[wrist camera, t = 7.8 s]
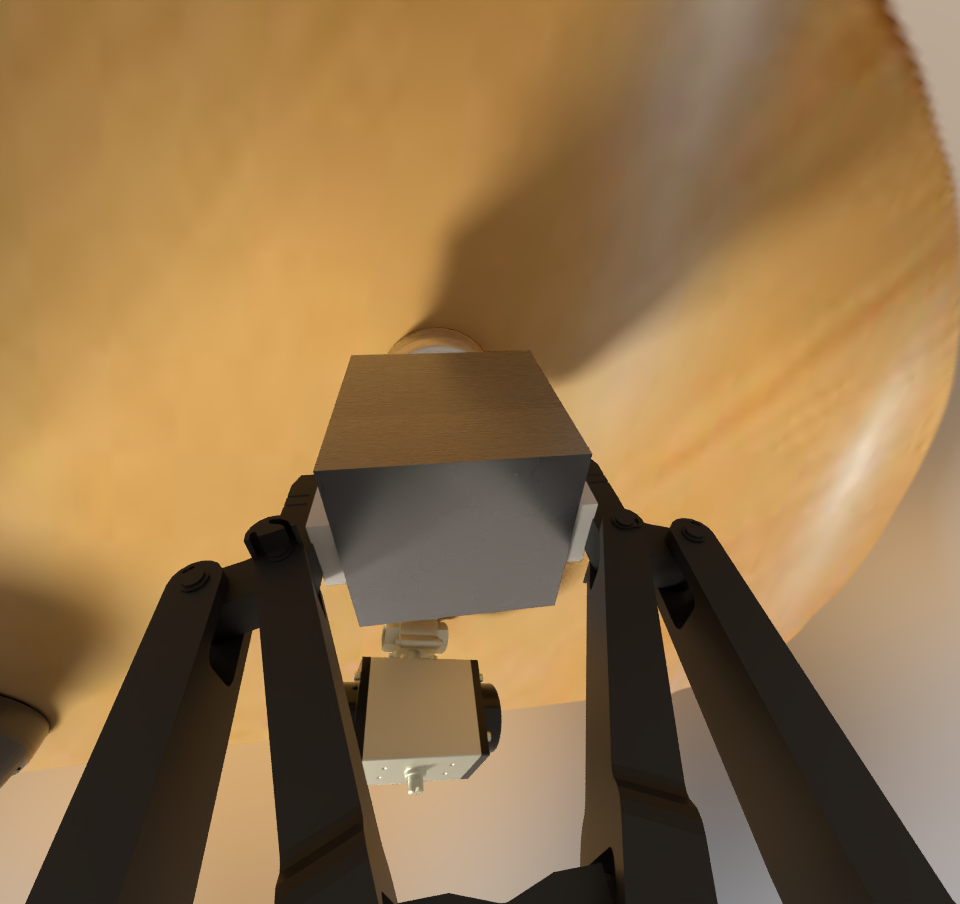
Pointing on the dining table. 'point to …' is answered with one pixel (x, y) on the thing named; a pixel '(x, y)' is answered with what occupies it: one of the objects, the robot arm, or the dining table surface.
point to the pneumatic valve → (421, 709)
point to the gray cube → (450, 484)
